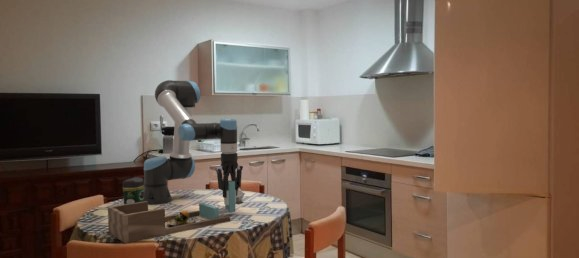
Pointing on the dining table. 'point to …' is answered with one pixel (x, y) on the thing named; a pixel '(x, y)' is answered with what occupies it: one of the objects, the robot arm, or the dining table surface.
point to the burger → (181, 219)
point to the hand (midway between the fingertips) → (230, 203)
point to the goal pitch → (147, 222)
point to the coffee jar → (133, 190)
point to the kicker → (213, 211)
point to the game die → (239, 195)
